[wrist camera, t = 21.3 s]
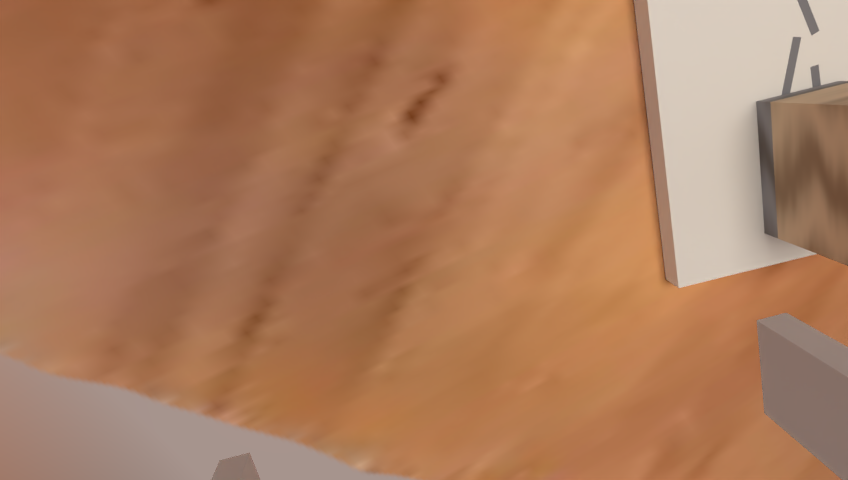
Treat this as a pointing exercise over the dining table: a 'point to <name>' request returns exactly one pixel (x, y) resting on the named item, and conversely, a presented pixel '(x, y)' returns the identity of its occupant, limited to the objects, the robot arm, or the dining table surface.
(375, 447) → the dining table surface
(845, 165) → the block
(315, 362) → the dining table surface
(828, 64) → the board
